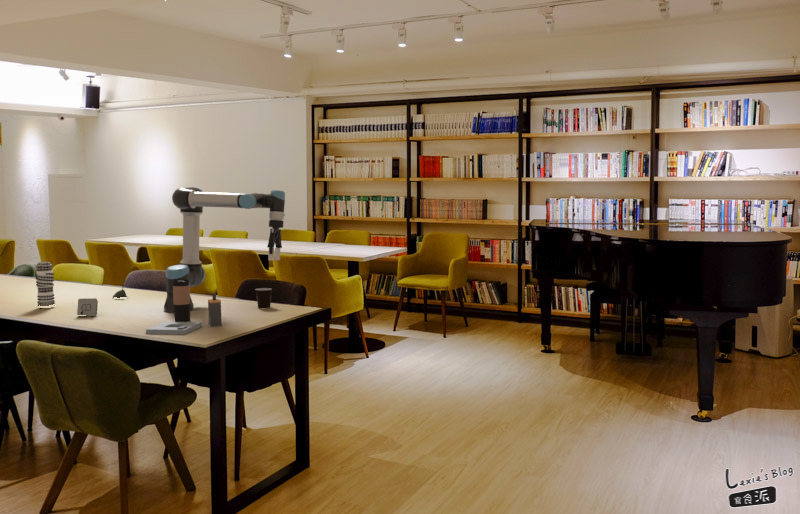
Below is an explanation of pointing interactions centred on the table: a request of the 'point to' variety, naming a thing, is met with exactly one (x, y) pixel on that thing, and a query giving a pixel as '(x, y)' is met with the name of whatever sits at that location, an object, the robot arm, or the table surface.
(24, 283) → the table surface
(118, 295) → the sword in stone
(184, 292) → the travel mug
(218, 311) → the plug
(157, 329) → the socket plate
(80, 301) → the electrical switch
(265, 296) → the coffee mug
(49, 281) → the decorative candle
